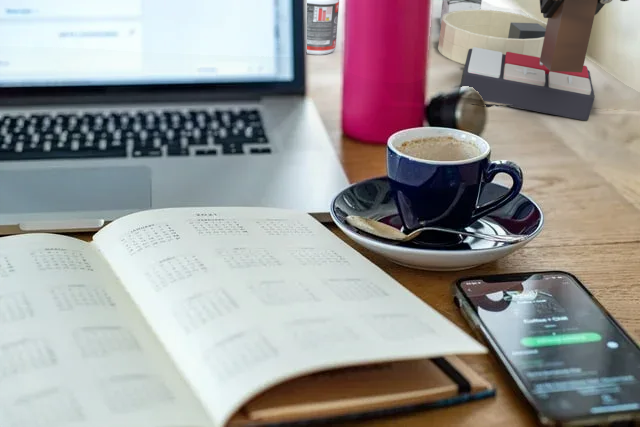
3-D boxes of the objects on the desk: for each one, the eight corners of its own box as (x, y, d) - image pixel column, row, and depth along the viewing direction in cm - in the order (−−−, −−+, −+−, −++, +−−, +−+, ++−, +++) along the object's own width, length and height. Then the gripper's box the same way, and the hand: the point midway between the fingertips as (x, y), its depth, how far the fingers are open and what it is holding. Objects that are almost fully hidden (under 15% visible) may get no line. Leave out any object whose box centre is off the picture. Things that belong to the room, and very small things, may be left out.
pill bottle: (341, 54, 117) (348, -21, 112) (301, 56, 115) (307, -21, 110) (325, 42, 121) (331, -31, 117) (286, 44, 119) (291, -31, 115)
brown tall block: (570, 62, 96) (594, -51, 90) (582, 72, 93) (607, -45, 87) (539, 61, 95) (561, -53, 90) (550, 71, 92) (574, -47, 87)
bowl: (528, 46, 127) (534, 12, 125) (564, 79, 114) (572, 42, 112) (427, 42, 125) (431, 7, 123) (452, 75, 112) (457, 36, 110)
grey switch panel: (597, 91, 99) (464, 66, 101) (587, 126, 101) (456, 101, 103) (591, 63, 108) (470, 41, 110) (582, 96, 110) (463, 74, 112)
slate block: (533, 51, 122) (538, 23, 120) (543, 60, 119) (549, 31, 117) (505, 51, 121) (510, 22, 120) (515, 59, 118) (520, 30, 116)
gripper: (710, -122, 79) (622, -16, 95) (559, -134, 77) (496, -23, 94) (723, -50, 77) (631, 46, 93) (568, -61, 75) (502, 39, 91)
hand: (564, 11), depth 93 cm, fingers closed on brown tall block, 3 cm apart
